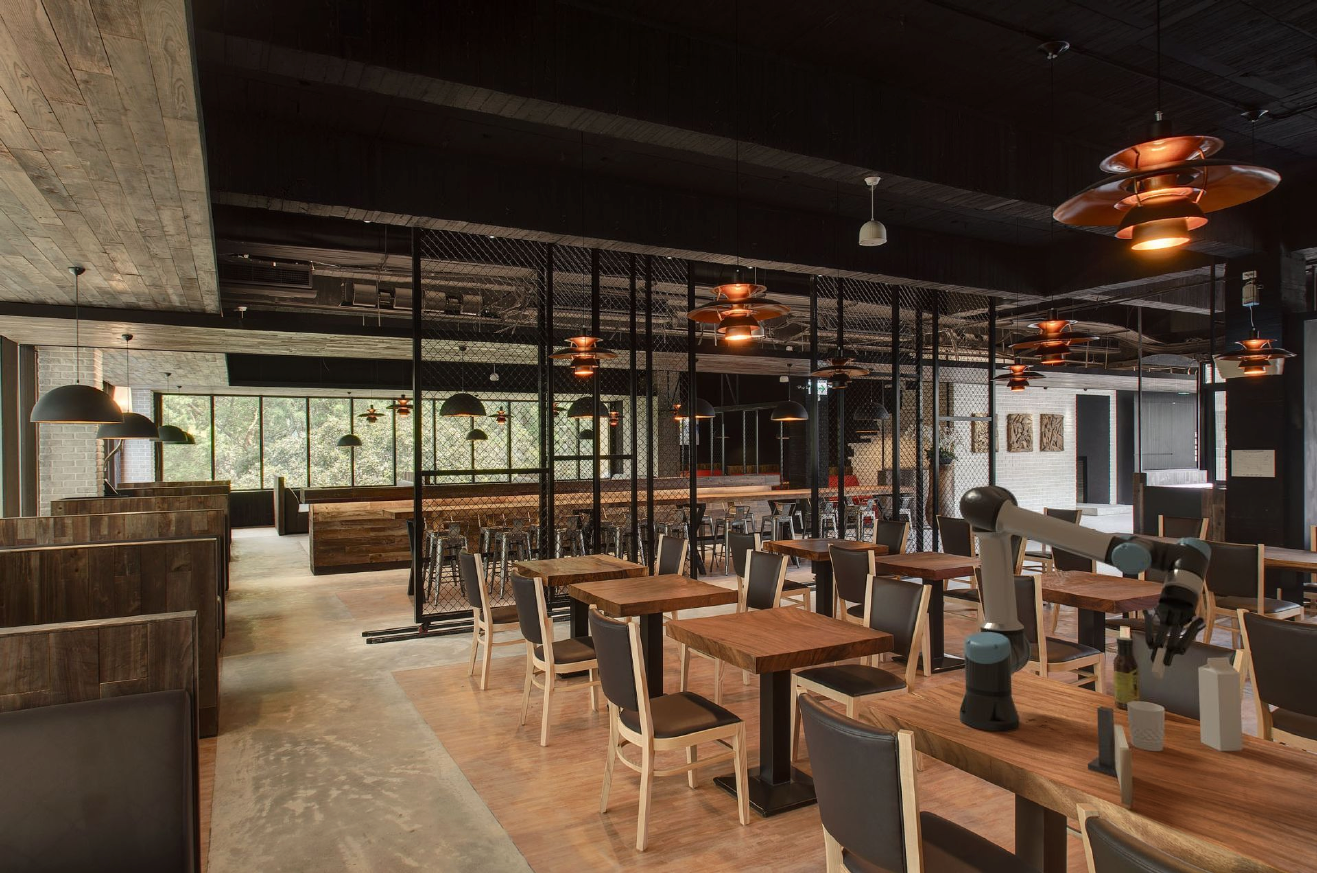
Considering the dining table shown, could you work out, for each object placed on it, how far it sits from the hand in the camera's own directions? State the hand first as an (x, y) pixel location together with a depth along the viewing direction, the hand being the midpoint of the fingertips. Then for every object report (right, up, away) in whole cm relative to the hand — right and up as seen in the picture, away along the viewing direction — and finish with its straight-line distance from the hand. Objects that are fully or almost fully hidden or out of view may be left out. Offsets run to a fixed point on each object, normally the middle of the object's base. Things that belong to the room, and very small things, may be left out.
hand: (1156, 675), depth 170 cm
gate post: (-10, -23, +2) cm, 25 cm away
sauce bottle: (+22, -24, +45) cm, 55 cm away
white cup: (+8, -23, +15) cm, 29 cm away
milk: (+26, -23, +15) cm, 38 cm away
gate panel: (-14, -21, -10) cm, 27 cm away
